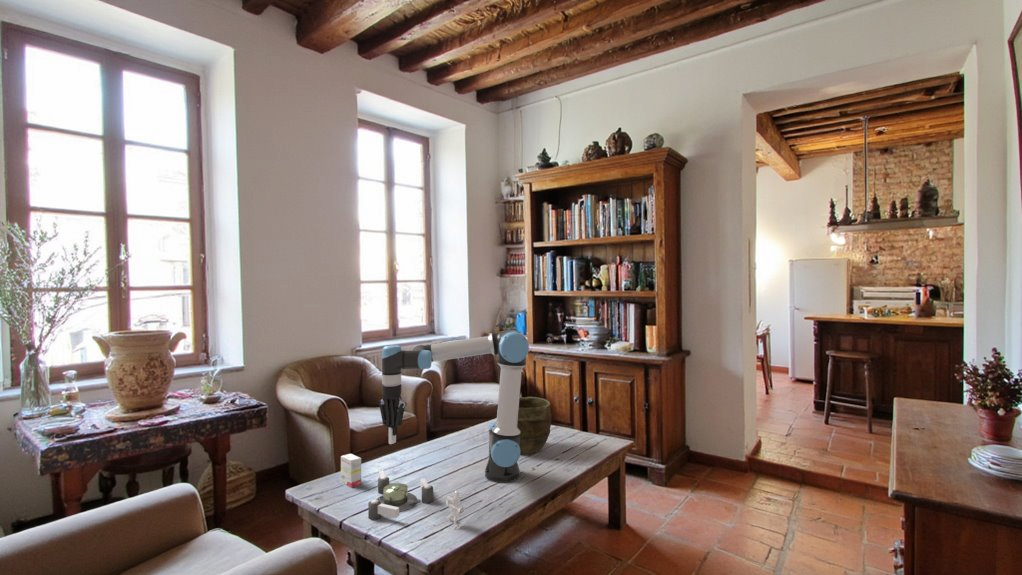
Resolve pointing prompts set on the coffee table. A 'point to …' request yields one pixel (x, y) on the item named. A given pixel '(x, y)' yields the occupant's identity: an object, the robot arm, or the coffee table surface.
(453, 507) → the figurine
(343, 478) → the ink box
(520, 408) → the clay pot
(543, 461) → the coffee table surface
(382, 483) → the knob far
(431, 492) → the knob near
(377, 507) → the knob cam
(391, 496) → the base
